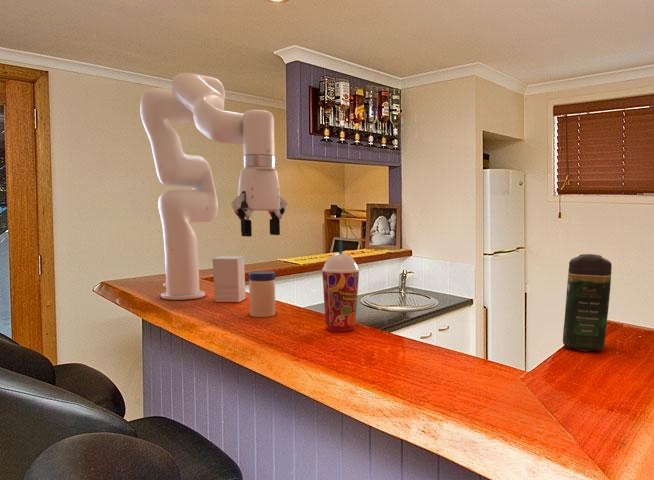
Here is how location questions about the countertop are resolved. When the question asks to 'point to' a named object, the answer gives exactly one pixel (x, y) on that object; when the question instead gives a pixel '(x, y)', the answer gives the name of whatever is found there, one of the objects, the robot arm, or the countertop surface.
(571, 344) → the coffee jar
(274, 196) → the robot arm
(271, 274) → the jar lid
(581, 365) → the countertop surface
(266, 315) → the jar
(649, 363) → the countertop surface
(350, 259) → the smoothie
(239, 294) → the white packaging box
